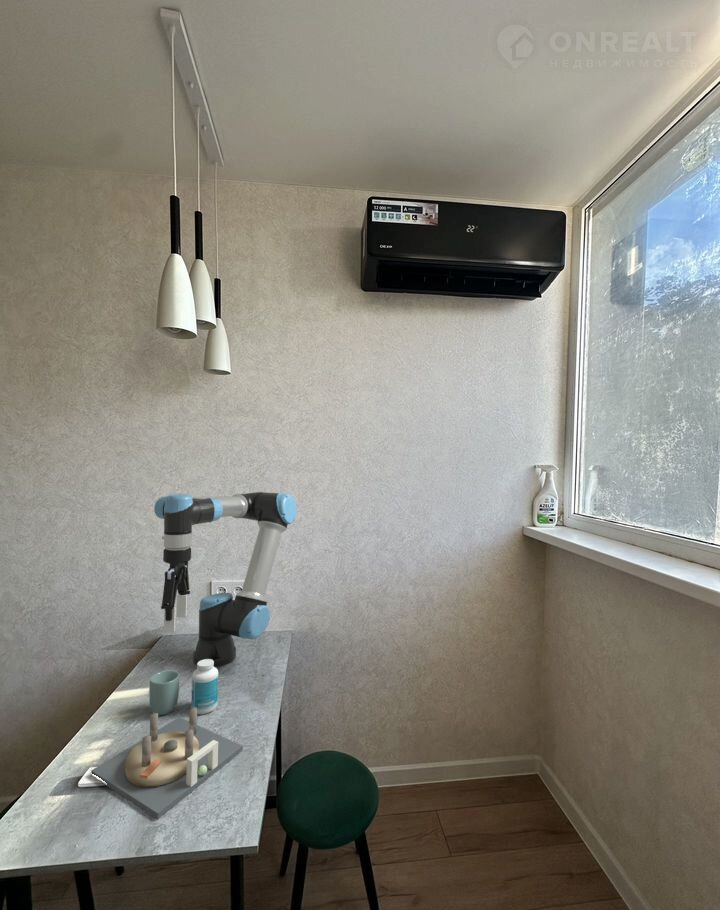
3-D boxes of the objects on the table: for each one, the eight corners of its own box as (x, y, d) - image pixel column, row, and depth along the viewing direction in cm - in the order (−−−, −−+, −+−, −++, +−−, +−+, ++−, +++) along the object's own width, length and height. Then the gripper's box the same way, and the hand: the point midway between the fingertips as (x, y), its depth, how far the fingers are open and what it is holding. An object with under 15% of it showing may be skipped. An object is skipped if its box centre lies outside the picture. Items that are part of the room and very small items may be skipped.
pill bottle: (223, 706, 128) (224, 660, 128) (202, 718, 121) (203, 670, 121) (206, 698, 131) (207, 654, 132) (185, 710, 125) (186, 664, 125)
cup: (167, 720, 120) (168, 685, 120) (142, 716, 122) (143, 681, 122) (183, 705, 128) (184, 671, 128) (160, 701, 129) (161, 668, 129)
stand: (179, 721, 120) (179, 696, 120) (243, 750, 108) (243, 723, 108) (91, 775, 99) (92, 746, 99) (158, 819, 87) (159, 786, 87)
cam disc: (174, 729, 114) (175, 699, 114) (217, 749, 106) (218, 717, 106) (110, 769, 99) (111, 735, 99) (154, 797, 91) (155, 759, 91)
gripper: (176, 540, 135) (175, 610, 135) (149, 556, 113) (147, 640, 113) (201, 540, 136) (199, 609, 136) (178, 556, 114) (176, 639, 113)
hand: (175, 623), depth 124 cm, fingers open, 10 cm apart
